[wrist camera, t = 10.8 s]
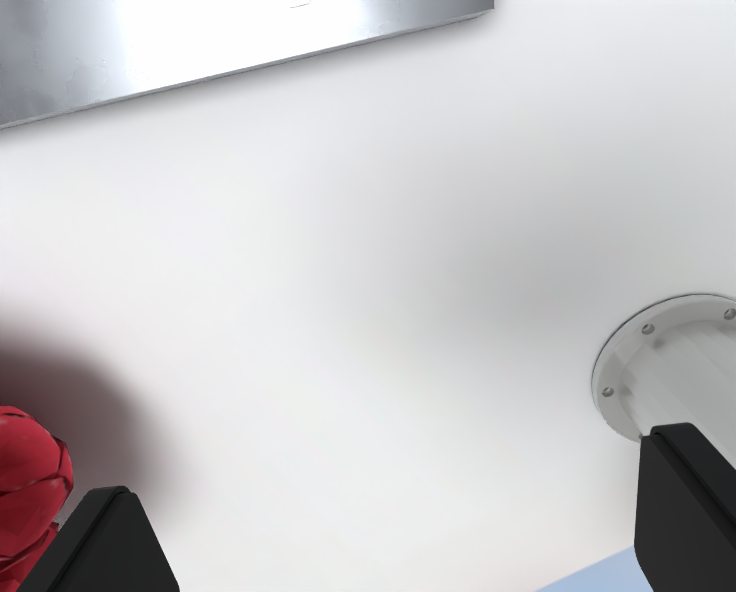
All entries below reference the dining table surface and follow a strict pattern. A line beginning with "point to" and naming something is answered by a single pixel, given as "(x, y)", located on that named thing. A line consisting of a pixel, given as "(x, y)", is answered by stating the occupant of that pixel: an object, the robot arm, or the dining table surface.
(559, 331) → the dining table surface
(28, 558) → the bouquet
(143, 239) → the dining table surface
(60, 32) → the block
